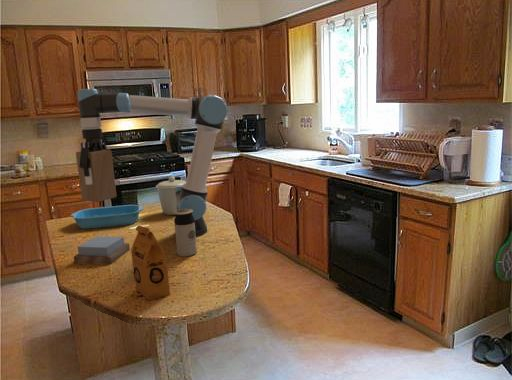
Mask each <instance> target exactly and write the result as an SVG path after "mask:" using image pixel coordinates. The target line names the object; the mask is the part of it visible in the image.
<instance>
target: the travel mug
mask: <svg viewBox="0 0 512 380" xmlns="http://www.w3.org/2000/svg"><path fill="white" fill-rule="evenodd" d="M192 212H193V210H192V209H179V210H176V211H175V212H174V213H175V215H174V216H175V217H174V219H173V221H174V223H173V224H174V232H175V241H176V243H175V244H176V253H177V255H178V256H180V257H191V256H193V255H195V254H197V253H198V249H197V248H198V247H197V236H196V234H195V223H194V217H193V215H192Z"/></svg>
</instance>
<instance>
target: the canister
mask: <svg viewBox="0 0 512 380" xmlns="http://www.w3.org/2000/svg"><path fill="white" fill-rule="evenodd" d="M186 181H187V180H183V179H182V180H181V179H176V177H175V176H174V175H173V176H172V175H171V176H169V177H168V180H164V181H160V182H159V183H158V184H156V185H155V187H156V188H157V192H158V194H157V195H158V197H159V202H160V207H161V211H162V212H163V213H164V215H166V216H175V213H174V212H175V211H176V210H177V205H176V194H175V188H176V187H177V186H182V185H184V184H185V183H186Z"/></svg>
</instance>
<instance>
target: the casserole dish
mask: <svg viewBox="0 0 512 380" xmlns="http://www.w3.org/2000/svg"><path fill="white" fill-rule="evenodd" d="M144 209H145V208H144V206H142V205H141V206H140V205H138V204H125V205H115V206H113V205H112V206H102V207H92V208H85V209H80V210H78V211H76V212H73V213H71V215H70V218H73V220H74V221H75V223H76V224H77V226H78V227H79V229H80V228H81V229H83V230H84V229H85V230H87V229H88V230H89V229H91V230H92V229H100V228H101V229H102V228H109V227H110V228H111V227H112V228H113V227H119V226H120V227H121V226H126V225H133V224H135V223H136V222H137V221H138V219H139V216H140V215H139V214H140V212H141V211H143V210H144ZM132 223H133V224H132Z"/></svg>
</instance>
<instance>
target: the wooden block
mask: <svg viewBox="0 0 512 380" xmlns="http://www.w3.org/2000/svg"><path fill="white" fill-rule="evenodd" d="M80 155H81V150H80V151H77V152H75V157H76V158H75V159H76V165H77V172H78V181H79V187H80V189H79V190H80V196H81V200H82V201H86V202H96V203H99V202H103V201H106V200H111V199H115V198H117V189H116V181H115V180H116V179H115V172H114V161H113V153H112V150H111V149H107V150H98V151H95V152H88V158H89V159H90V167H89V168H91V172H92V180H93V184H92V185H86V182H85V176H84V169H83V168H81V167H79V164H80Z"/></svg>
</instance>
